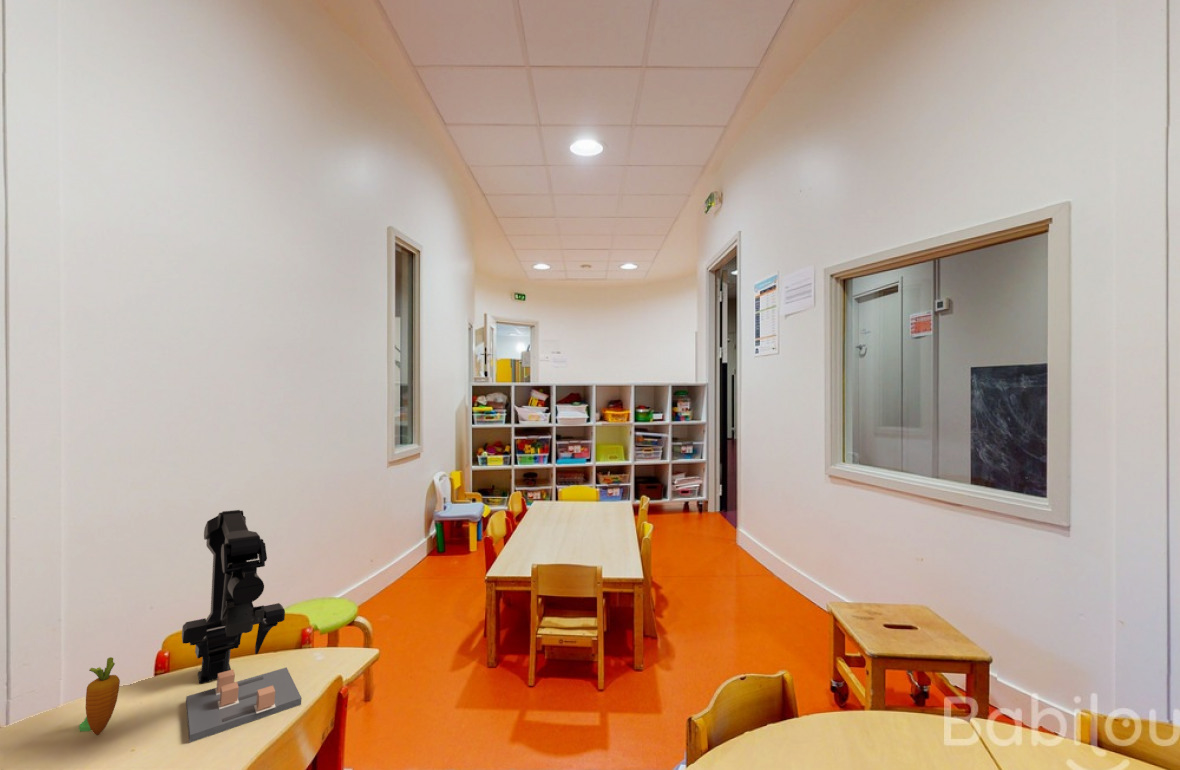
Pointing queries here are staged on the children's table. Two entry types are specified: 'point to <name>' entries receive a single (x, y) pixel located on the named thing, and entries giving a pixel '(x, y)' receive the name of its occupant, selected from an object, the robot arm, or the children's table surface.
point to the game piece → (84, 726)
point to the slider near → (265, 697)
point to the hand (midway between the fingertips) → (232, 659)
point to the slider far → (225, 679)
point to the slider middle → (229, 693)
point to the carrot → (101, 697)
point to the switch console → (239, 704)
